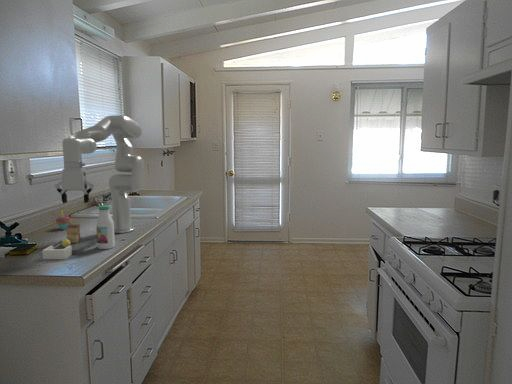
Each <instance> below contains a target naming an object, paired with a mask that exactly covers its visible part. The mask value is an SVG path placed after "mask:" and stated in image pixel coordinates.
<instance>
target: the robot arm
mask: <svg viewBox="0 0 512 384" xmlns="http://www.w3.org/2000/svg"><path fill="white" fill-rule="evenodd" d="M142 130H143V128H142V126H141V125H140V123H138V122H137V121H135V120H133V119H132V118H131V117H128V115H127V116H126V115H107V116H105V117H103V118H102V119H101V120H99V121H98V122H97V123H95V124H94V125H92V126H89V127H86V128H84V129H81V130H78V131H76V132H74V133H73V134H71V135H69V136H68V138H67V137H66V138H63V140H62V144H61V145H62V156H63V169H62V173H61V181H60V182H58V183H56V184H54V188H55V189H56V191H57V192H58V193H59V194H60V196H61V202H62V204H66V203H68V196H67V195H68V194H67V192H68V191H69V192H70V191H73V192H74V191H82V193H84V194H83V202H84V204H87V203H89V201H90V193H91V192H92V191H93V189H94V187H95V184H94V183H92V182H90V181H88V179H87V173H86V169H85V168H84V167H86V163H85V162H83V157H82V156H83V155H89V154H90V155H91V154H93V153H94V152H96V150H97V147H98V146H97V143H100V142H103V141H105V140H107V139H108V138H109V137H110V136H112V137H113V139H114V141H115V144H116V154H115V161H114V170H115V171H116V172H117V174H113V175H111V176H110V177H109V178H108V187H109V190H110V196H111V209H112V210H111V211H112V220H113V224H114V234H123V233H126V234H127V233H130V232H132V231H134V230H135V227H134V226H133V225H132V220H131V219H132V217H131V216H132V215H131V199H130V198H131V197H130V196H129V194H128V193H136V192H139V191H140V190H141V188H142V186H143V185H142V184H143V177H144V169H145V162H144V160H143V158H142V157H141V156H139V155H133V153H134V152H133V151H134V147H133V145H132V143H131V142H130V140H129V139H133V140H134V139H139V138H141V135H142V132H143V131H142ZM118 173H120V174H118ZM121 173H122V174H121ZM124 173H125V174H124ZM126 173H128V174H126ZM60 186H61V187H60ZM88 186H89V188H88Z"/></svg>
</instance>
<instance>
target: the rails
mask: <svg viewBox="0 0 512 384" xmlns="http://www.w3.org/2000/svg"><path fill="white" fill-rule="evenodd" d="M61 245H62V244H59V245H57V246H55V247H53V249H56V248H58V247H60V246H61ZM77 246H79V244H76V245H74V246H73V247H72V249H74V248H76V247H77Z"/></svg>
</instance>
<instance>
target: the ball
mask: <svg viewBox="0 0 512 384" xmlns="http://www.w3.org/2000/svg"><path fill="white" fill-rule="evenodd" d="M61 241H62V246H64V247H68V246H70V241H69V240H68V239H67V238H65V239H63V240H61Z"/></svg>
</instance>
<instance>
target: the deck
mask: <svg viewBox="0 0 512 384" xmlns="http://www.w3.org/2000/svg"><path fill="white" fill-rule="evenodd" d="M62 241H63V240H61V241H58V242H57V243H55V244H53V245H52V246H53V247H55V246H57V245H59V244H62ZM76 244H79V246H77V247H76V248H74V249H72V255H80V254H81V253H82V252H83V251H85V250H87V249H88V248H90V247H91V246H92V245H93V244H94V242H93V240H81V241H79V242H78V243H70V246H72V247H73V246H74V245H76ZM64 248H66V247H64V246H62V245H61V246H60V247H58V248H56V249H64Z"/></svg>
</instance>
